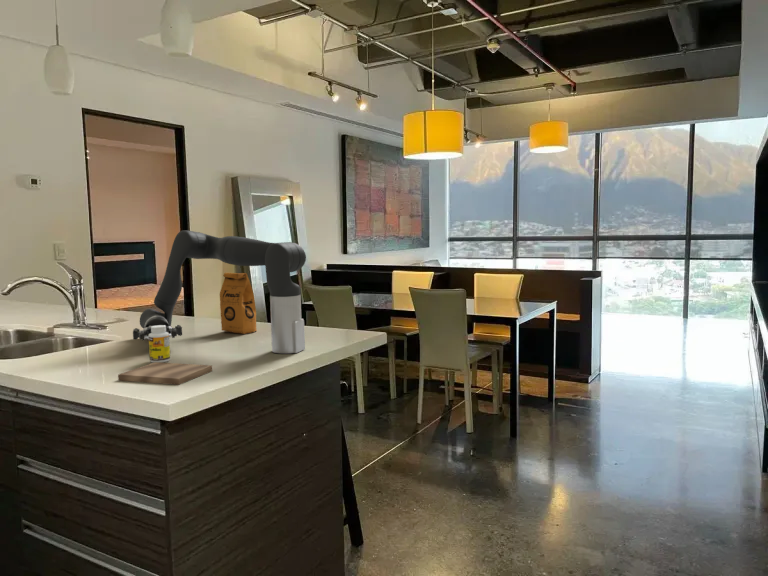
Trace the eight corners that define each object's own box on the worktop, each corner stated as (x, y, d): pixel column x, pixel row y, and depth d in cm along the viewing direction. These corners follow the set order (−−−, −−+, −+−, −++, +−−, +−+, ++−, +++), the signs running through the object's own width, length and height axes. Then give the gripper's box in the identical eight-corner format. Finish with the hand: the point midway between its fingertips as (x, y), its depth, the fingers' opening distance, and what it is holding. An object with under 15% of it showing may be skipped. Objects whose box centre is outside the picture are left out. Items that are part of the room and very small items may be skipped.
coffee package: (241, 335, 206) (238, 274, 204) (217, 332, 213) (214, 273, 211) (261, 331, 215) (259, 272, 212) (238, 328, 222) (235, 271, 219)
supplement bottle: (145, 362, 166) (143, 327, 165) (158, 358, 171) (156, 324, 170) (162, 363, 164) (159, 328, 163) (174, 359, 169) (172, 324, 168)
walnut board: (212, 371, 154) (212, 365, 154) (179, 384, 141) (178, 378, 141) (155, 367, 160) (155, 362, 160) (118, 380, 146) (118, 374, 146)
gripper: (132, 318, 187) (131, 325, 172) (179, 314, 193) (182, 321, 178) (134, 341, 188) (133, 350, 173) (180, 337, 193) (183, 345, 178)
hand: (158, 335), depth 175 cm, fingers open, 8 cm apart
